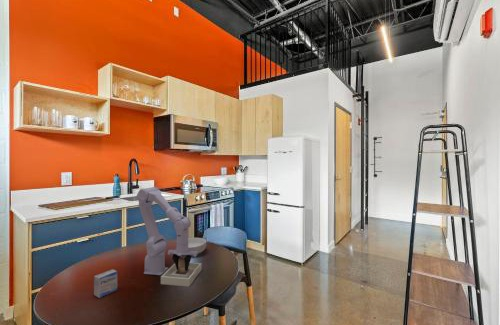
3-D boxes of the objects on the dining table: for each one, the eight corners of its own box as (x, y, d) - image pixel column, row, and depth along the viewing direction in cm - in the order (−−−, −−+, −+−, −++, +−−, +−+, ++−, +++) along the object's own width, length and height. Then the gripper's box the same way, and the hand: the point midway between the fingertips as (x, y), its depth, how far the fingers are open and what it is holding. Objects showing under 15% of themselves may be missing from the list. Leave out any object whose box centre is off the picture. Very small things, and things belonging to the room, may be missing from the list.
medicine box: (99, 298, 102) (99, 278, 102) (93, 295, 105) (93, 275, 105) (117, 290, 109) (117, 271, 109) (112, 287, 111) (112, 268, 111)
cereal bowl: (186, 247, 161) (186, 236, 161) (210, 249, 158) (210, 238, 158) (173, 257, 145) (173, 245, 145) (199, 260, 141) (199, 248, 141)
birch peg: (176, 275, 120) (176, 259, 120) (180, 271, 124) (180, 256, 124) (184, 276, 120) (184, 260, 119) (187, 272, 124) (187, 257, 123)
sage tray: (160, 284, 114) (160, 276, 114) (176, 267, 131) (176, 261, 131) (189, 286, 112) (189, 279, 112) (201, 269, 129) (201, 263, 129)
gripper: (164, 244, 118) (164, 272, 119) (193, 246, 116) (193, 274, 117) (171, 239, 125) (171, 265, 126) (198, 241, 123) (198, 267, 124)
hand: (182, 269), depth 122 cm, fingers closed on birch peg, 4 cm apart
